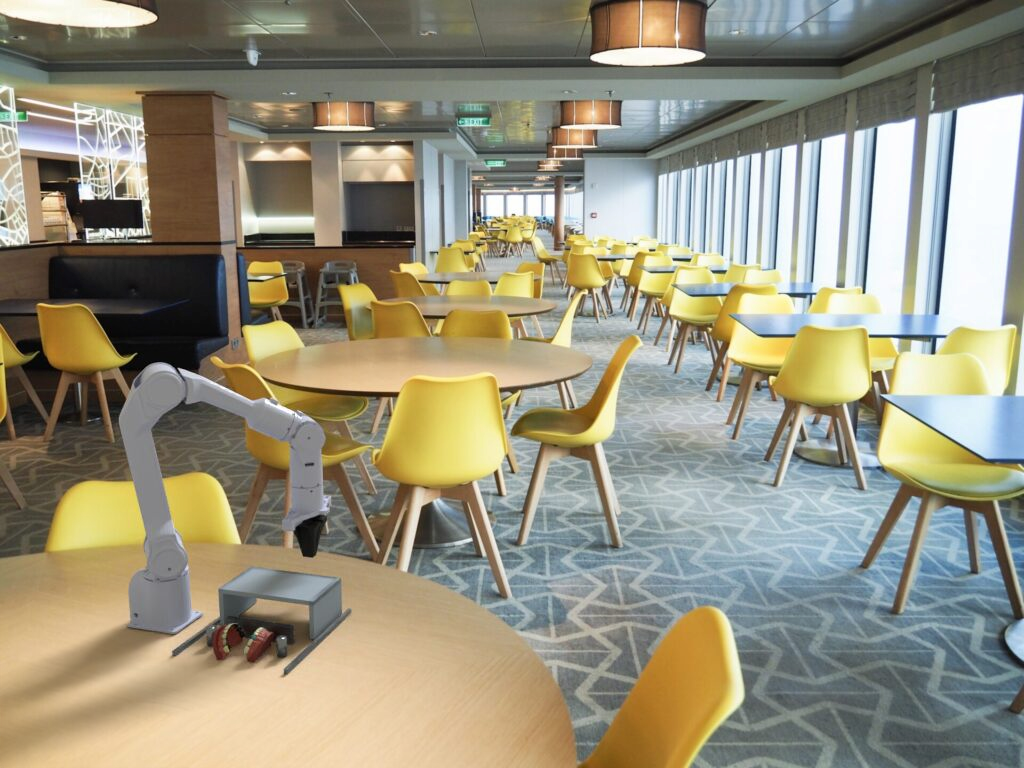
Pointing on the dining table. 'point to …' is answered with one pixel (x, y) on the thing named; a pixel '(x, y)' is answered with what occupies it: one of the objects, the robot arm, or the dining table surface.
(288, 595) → the housing
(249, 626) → the pin seat
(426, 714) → the dining table surface
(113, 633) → the dining table surface
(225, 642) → the dentures
